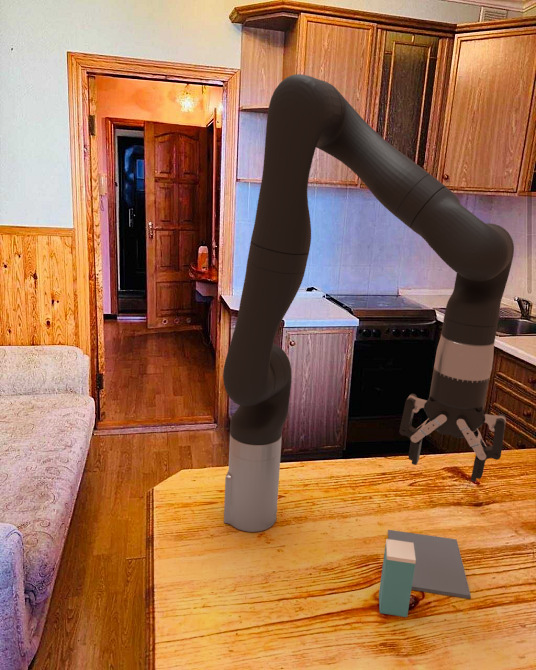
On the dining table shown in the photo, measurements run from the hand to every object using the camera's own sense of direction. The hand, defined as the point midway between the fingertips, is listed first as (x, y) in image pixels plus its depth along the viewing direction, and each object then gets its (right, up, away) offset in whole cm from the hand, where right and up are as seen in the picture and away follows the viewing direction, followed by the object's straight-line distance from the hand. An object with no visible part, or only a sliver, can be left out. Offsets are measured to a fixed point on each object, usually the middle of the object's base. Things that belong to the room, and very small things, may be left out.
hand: (444, 470), depth 84 cm
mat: (0, -18, +11) cm, 21 cm away
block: (-7, -21, +1) cm, 22 cm away
